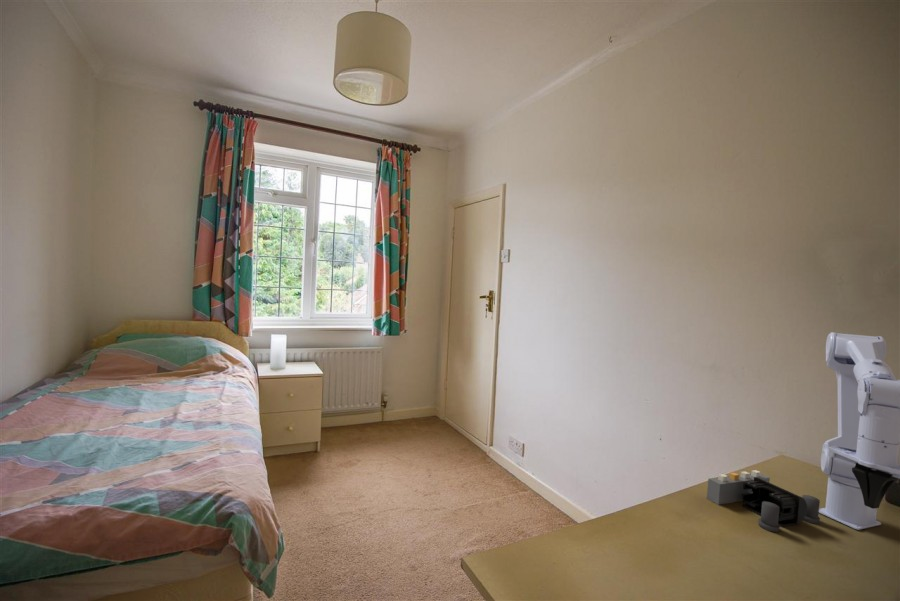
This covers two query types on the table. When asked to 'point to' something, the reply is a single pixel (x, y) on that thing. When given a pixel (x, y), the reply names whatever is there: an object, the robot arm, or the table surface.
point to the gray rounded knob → (769, 517)
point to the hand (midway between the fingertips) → (871, 506)
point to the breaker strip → (731, 486)
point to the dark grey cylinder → (812, 509)
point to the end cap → (774, 501)
